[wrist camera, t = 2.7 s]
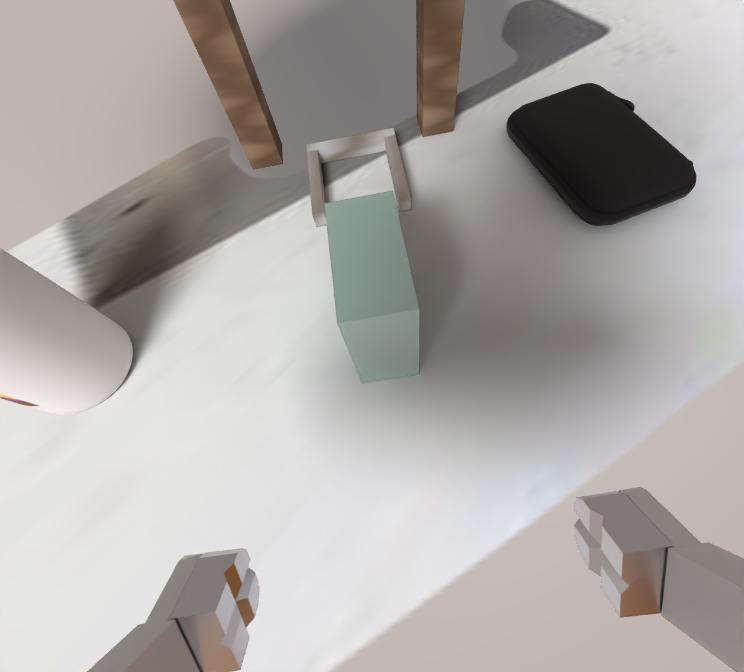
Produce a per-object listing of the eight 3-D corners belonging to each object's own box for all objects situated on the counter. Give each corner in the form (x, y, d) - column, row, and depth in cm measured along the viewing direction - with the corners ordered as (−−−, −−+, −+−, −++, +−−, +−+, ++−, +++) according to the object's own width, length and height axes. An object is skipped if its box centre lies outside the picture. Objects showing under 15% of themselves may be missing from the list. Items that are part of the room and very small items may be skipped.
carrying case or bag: (706, 197, 30) (594, 98, 37) (735, 165, 27) (608, 64, 34) (588, 243, 30) (495, 134, 36) (605, 214, 27) (501, 102, 33)
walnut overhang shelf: (252, 256, 32) (-78, -266, 11) (253, 149, 39) (46, -314, 17) (483, 214, 31) (622, -439, 10) (446, 111, 38) (482, -423, 16)
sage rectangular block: (362, 383, 26) (337, 323, 18) (349, 288, 30) (324, 203, 22) (419, 374, 26) (419, 309, 18) (399, 279, 30) (392, 190, 22)
